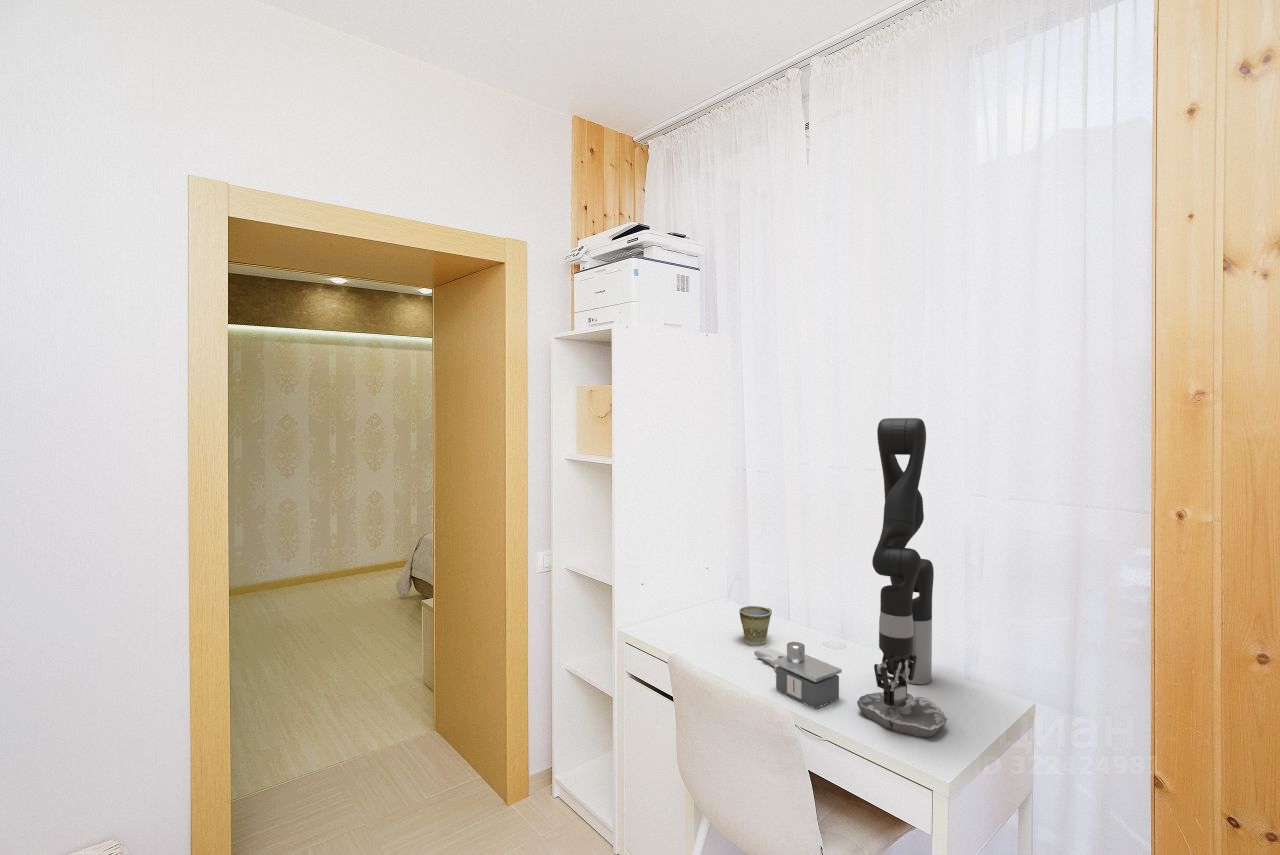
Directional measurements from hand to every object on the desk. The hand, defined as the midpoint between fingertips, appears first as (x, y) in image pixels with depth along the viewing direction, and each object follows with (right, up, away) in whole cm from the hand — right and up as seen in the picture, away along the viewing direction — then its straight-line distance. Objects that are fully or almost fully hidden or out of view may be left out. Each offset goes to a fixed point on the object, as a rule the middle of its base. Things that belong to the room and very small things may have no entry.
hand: (895, 701), depth 148 cm
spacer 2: (0, 0, 0) cm, 0 cm away
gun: (-20, -5, +32) cm, 38 cm away
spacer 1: (-19, +3, +17) cm, 26 cm away
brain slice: (+2, -5, +2) cm, 6 cm away
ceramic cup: (-23, -4, +52) cm, 57 cm away
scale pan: (-17, +3, +14) cm, 23 cm away
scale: (-17, -4, +15) cm, 23 cm away
